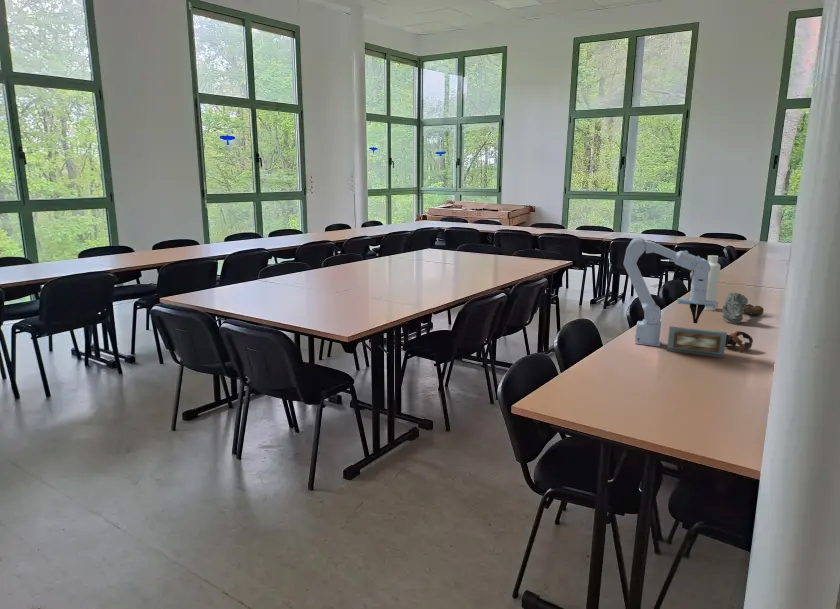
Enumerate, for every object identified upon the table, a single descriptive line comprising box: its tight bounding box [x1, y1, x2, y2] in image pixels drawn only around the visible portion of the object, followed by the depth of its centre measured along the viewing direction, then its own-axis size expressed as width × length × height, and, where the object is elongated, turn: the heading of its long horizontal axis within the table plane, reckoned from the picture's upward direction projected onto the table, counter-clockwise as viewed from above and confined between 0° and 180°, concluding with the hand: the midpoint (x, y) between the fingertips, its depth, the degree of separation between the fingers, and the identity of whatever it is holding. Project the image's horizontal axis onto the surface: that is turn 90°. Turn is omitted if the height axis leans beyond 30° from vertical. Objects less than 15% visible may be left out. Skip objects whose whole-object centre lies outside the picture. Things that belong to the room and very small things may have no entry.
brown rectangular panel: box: [673, 332, 721, 352], centre depth 219 cm, size 16×3×6 cm, turn 64°
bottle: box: [703, 254, 722, 312], centre depth 295 cm, size 8×8×28 cm
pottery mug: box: [725, 330, 754, 353], centre depth 228 cm, size 12×10×8 cm
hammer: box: [721, 292, 765, 325], centre depth 276 cm, size 15×10×30 cm
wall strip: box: [666, 326, 728, 358], centre depth 223 cm, size 20×5×10 cm, turn 64°
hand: (695, 322), depth 228 cm, fingers closed
